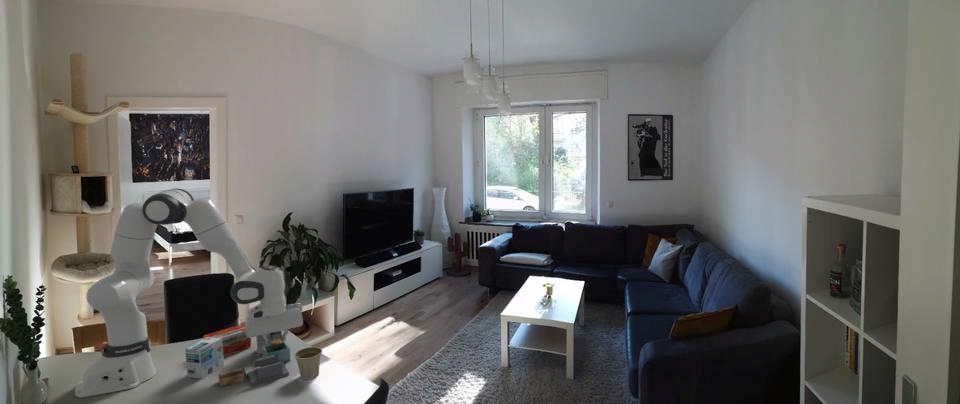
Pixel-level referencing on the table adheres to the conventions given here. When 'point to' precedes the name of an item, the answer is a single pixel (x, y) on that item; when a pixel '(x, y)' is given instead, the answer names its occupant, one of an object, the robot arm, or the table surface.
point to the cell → (276, 341)
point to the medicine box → (232, 339)
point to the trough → (232, 377)
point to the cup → (278, 352)
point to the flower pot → (308, 361)
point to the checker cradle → (267, 370)
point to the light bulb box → (204, 357)
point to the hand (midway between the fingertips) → (275, 342)
